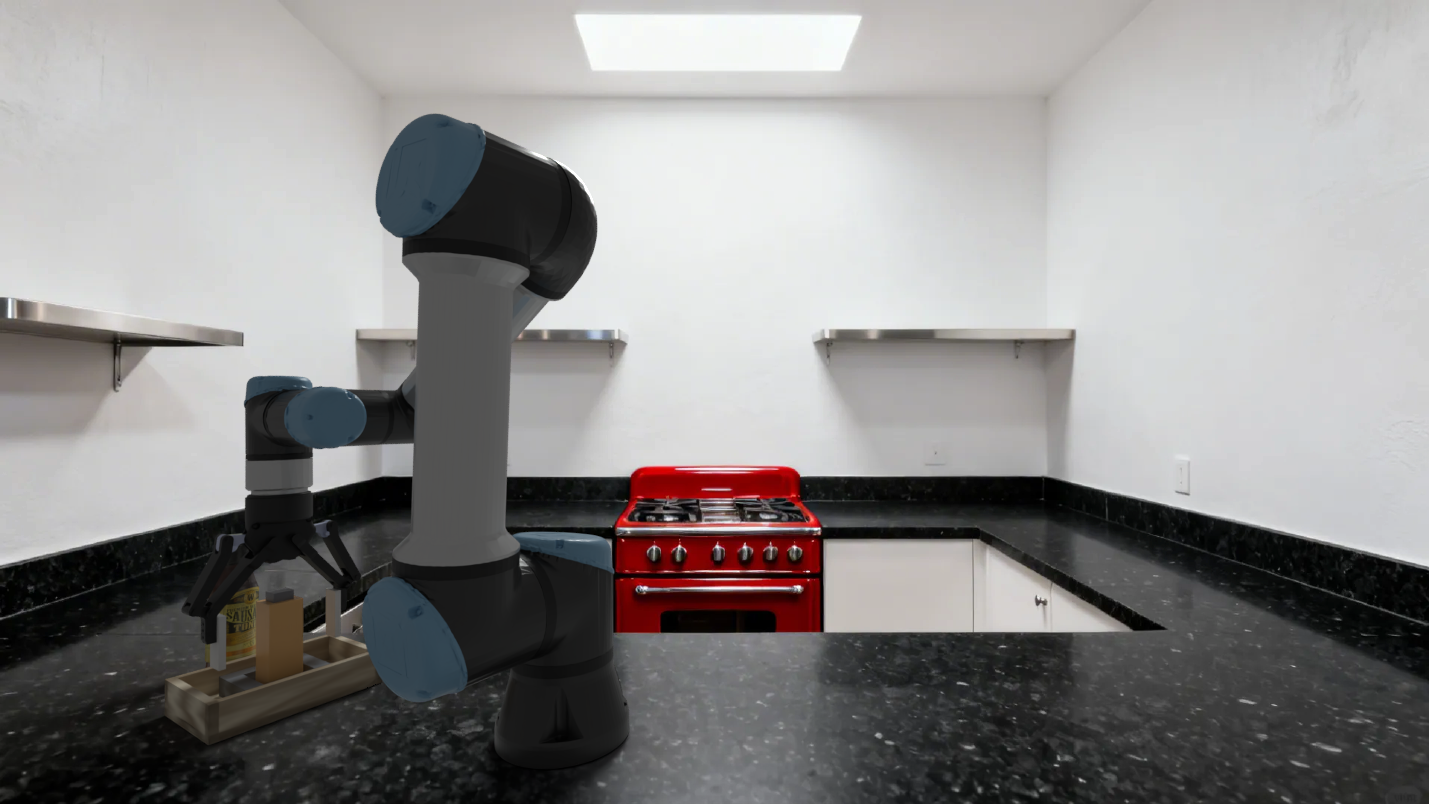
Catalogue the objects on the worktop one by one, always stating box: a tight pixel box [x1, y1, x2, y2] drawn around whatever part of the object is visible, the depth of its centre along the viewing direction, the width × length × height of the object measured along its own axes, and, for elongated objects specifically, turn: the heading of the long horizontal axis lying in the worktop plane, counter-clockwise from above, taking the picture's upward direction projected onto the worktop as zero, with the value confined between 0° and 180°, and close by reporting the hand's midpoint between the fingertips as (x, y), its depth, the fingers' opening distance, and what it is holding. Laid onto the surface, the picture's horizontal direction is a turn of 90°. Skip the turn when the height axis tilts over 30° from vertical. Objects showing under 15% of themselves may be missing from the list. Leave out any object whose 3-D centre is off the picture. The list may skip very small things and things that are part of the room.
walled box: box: [164, 634, 383, 746], centre depth 84 cm, size 14×20×4 cm
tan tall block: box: [256, 586, 304, 684], centre depth 84 cm, size 4×4×13 cm
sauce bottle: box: [204, 533, 260, 668], centre depth 95 cm, size 7×6×20 cm
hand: (279, 650), depth 84 cm, fingers open, 13 cm apart
